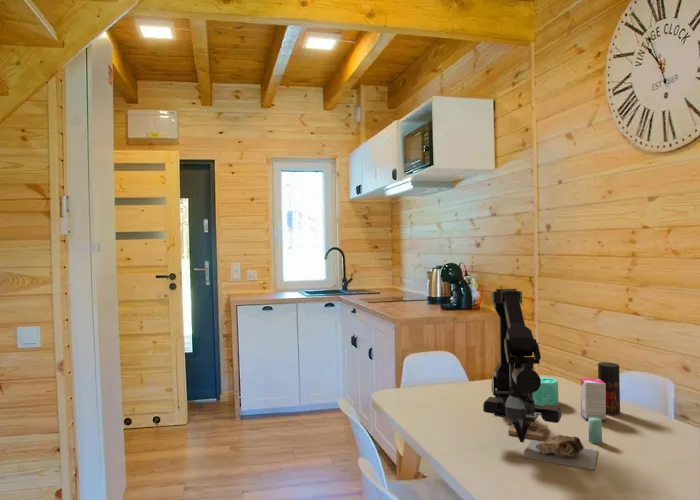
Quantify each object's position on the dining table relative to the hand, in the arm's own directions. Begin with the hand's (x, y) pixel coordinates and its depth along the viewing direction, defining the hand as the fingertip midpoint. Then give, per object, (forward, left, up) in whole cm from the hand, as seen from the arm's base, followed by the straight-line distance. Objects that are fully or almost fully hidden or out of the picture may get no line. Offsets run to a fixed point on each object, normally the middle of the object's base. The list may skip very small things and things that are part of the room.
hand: (522, 441), depth 129 cm
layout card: (+9, 0, -2) cm, 9 cm away
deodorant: (+18, +41, -2) cm, 45 cm away
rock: (+9, 0, -1) cm, 9 cm away
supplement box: (+14, +33, -2) cm, 36 cm away
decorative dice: (-1, +41, -2) cm, 41 cm away
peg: (+16, +13, -2) cm, 21 cm away
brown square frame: (-1, +12, -2) cm, 12 cm away
